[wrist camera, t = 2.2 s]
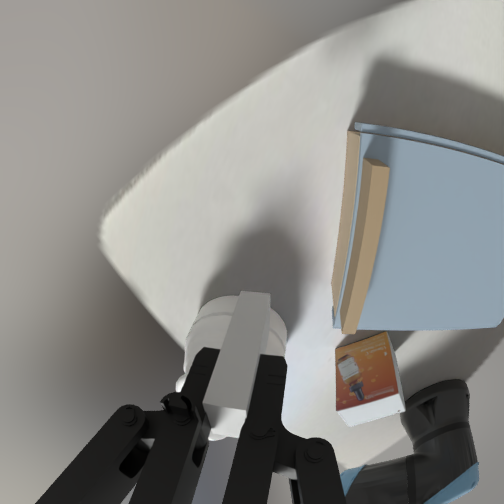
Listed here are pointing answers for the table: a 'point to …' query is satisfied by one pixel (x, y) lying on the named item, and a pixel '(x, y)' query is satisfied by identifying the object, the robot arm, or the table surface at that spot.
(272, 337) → the honey pot
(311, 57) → the table surface
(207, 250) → the table surface
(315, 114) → the table surface
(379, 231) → the lid
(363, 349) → the small box
